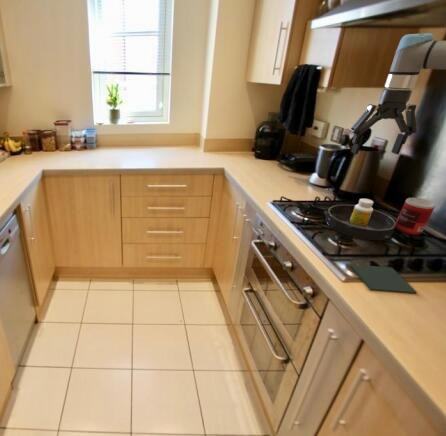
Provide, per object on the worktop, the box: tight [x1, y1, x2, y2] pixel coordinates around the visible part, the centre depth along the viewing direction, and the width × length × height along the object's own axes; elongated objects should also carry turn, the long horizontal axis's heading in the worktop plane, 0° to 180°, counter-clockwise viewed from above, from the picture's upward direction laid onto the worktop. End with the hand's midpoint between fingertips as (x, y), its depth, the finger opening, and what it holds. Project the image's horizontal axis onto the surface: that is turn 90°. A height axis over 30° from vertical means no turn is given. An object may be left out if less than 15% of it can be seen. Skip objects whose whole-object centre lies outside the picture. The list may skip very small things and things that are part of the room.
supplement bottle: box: [349, 198, 374, 228], centre depth 113 cm, size 5×5×10 cm
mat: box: [350, 264, 417, 295], centre depth 89 cm, size 11×11×1 cm
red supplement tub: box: [395, 197, 436, 236], centre depth 110 cm, size 8×8×11 cm
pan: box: [324, 204, 396, 242], centre depth 115 cm, size 20×20×4 cm
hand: (374, 153), depth 112 cm, fingers open, 13 cm apart
